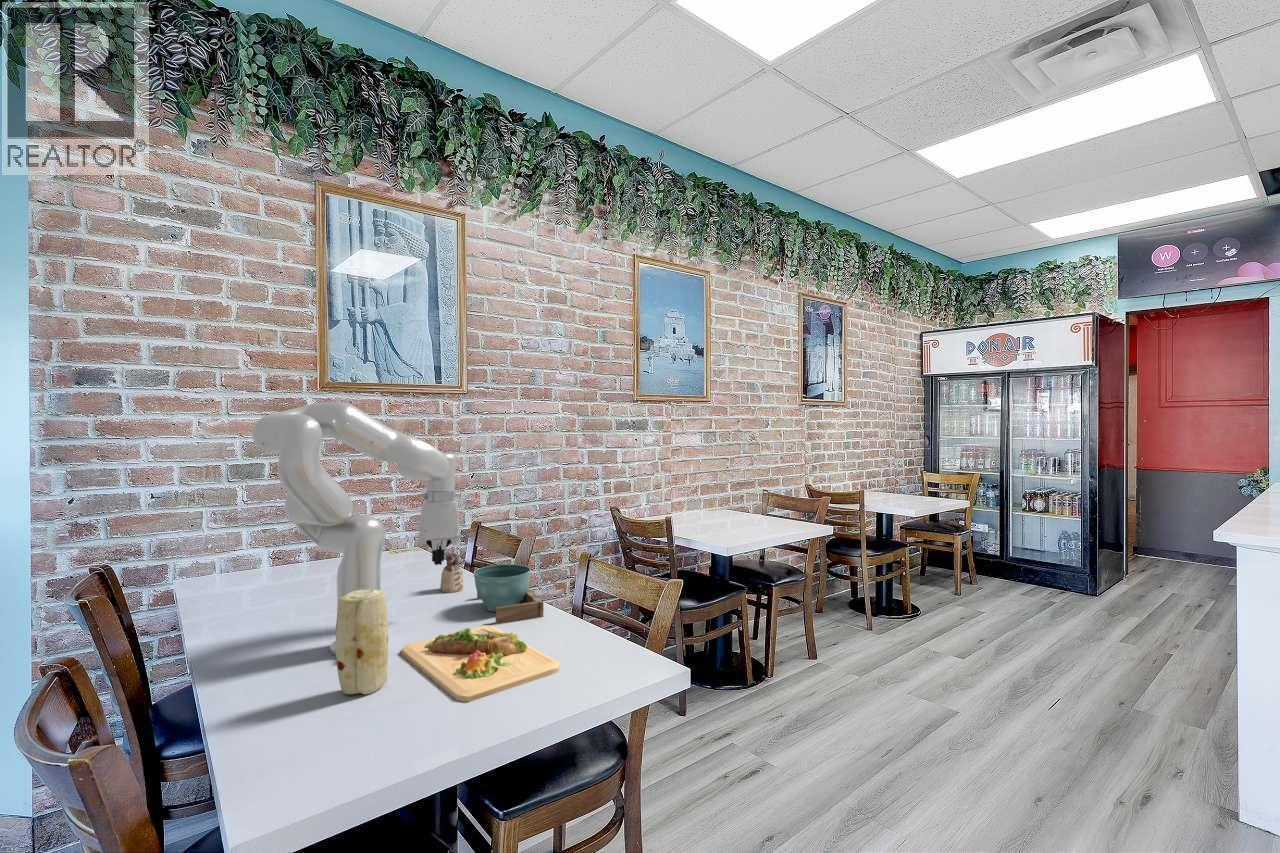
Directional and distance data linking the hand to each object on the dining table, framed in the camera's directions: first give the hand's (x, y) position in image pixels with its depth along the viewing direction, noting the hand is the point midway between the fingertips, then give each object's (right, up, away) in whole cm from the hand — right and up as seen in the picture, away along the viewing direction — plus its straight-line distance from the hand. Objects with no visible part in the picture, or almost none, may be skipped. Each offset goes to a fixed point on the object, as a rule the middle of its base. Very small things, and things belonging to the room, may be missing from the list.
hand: (437, 563), depth 164 cm
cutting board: (+19, -16, -30) cm, 39 cm away
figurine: (-4, -15, +27) cm, 31 cm away
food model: (0, -15, -45) cm, 47 cm away
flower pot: (+16, -15, +8) cm, 23 cm away
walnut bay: (+17, -15, +8) cm, 24 cm away
